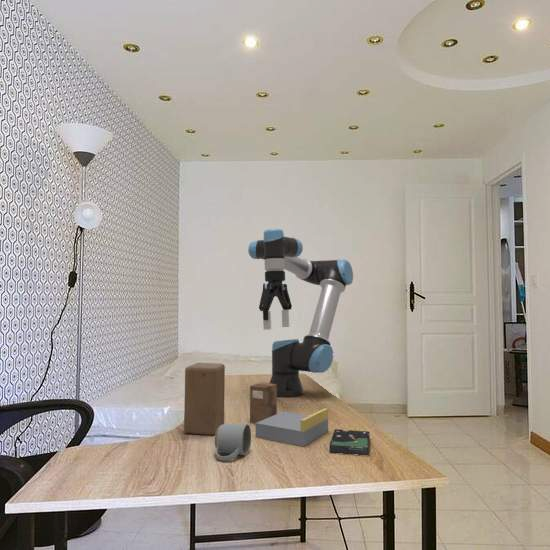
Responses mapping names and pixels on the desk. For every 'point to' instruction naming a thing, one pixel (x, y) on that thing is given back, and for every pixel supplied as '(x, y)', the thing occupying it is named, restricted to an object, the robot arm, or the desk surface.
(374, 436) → the desk surface
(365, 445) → the disk drive
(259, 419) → the cardboard box
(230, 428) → the ceramic mug
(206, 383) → the wooden block
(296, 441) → the dock
